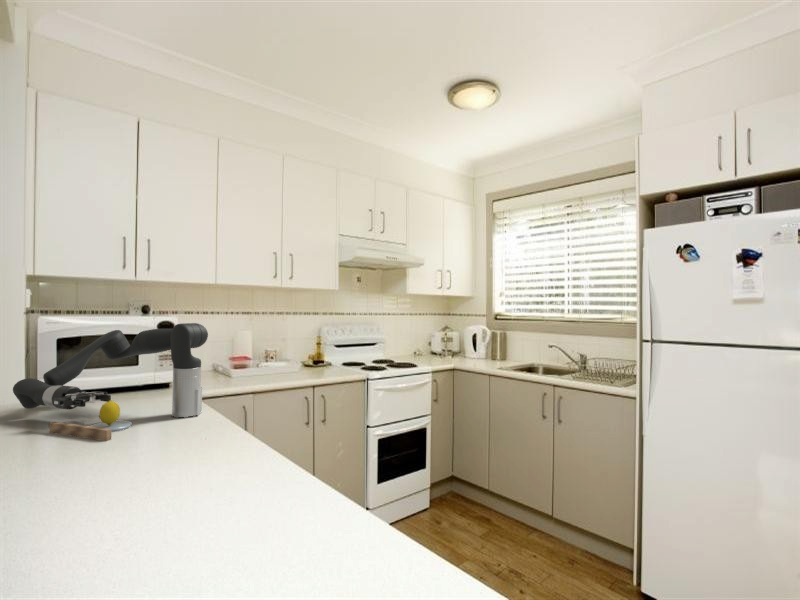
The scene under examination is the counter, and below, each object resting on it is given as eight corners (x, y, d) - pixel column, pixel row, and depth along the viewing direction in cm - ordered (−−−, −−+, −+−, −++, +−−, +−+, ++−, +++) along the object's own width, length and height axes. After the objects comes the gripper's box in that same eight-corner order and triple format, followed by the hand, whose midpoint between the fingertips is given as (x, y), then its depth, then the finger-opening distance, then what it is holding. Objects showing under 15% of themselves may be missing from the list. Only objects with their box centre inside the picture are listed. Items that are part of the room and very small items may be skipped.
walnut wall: (49, 432, 137) (49, 422, 137) (54, 431, 139) (54, 421, 139) (106, 440, 130) (106, 430, 130) (111, 439, 131) (111, 429, 131)
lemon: (109, 428, 140) (110, 402, 140) (94, 426, 141) (95, 401, 141) (123, 423, 146) (124, 399, 146) (109, 422, 147) (110, 398, 147)
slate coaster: (137, 422, 150) (137, 420, 150) (122, 432, 139) (122, 429, 139) (97, 423, 148) (97, 421, 148) (79, 433, 136) (79, 431, 136)
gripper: (40, 389, 144) (75, 393, 139) (83, 382, 157) (117, 385, 152) (39, 412, 144) (75, 417, 139) (83, 403, 157) (117, 407, 152)
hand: (97, 400), depth 145 cm, fingers open, 8 cm apart
